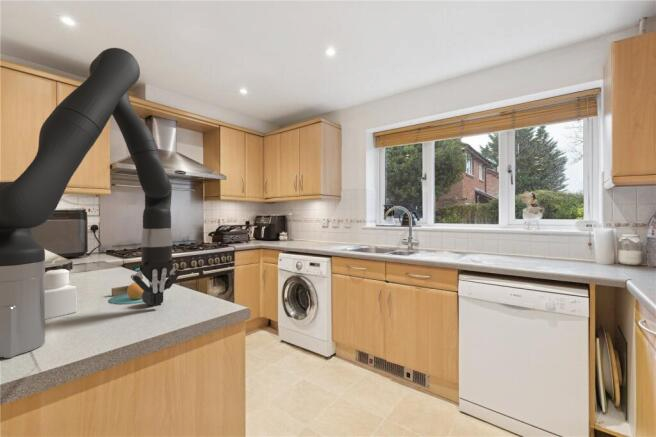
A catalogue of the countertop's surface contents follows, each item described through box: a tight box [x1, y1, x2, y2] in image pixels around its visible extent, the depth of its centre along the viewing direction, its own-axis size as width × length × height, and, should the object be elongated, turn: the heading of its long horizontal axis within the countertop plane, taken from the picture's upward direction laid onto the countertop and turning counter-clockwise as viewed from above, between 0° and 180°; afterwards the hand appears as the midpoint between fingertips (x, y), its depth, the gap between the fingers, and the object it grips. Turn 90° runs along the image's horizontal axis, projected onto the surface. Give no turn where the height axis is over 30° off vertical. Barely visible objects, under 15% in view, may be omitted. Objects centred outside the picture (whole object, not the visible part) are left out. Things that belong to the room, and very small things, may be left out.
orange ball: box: [127, 281, 144, 300], centre depth 96 cm, size 6×6×6 cm
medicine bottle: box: [45, 267, 78, 321], centre depth 81 cm, size 7×7×12 cm
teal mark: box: [108, 294, 144, 305], centre depth 97 cm, size 14×14×1 cm
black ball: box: [142, 291, 154, 306], centre depth 90 cm, size 6×6×6 cm
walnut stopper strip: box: [111, 285, 130, 297], centre depth 102 cm, size 9×1×2 cm, turn 139°
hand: (156, 305), depth 86 cm, fingers closed
